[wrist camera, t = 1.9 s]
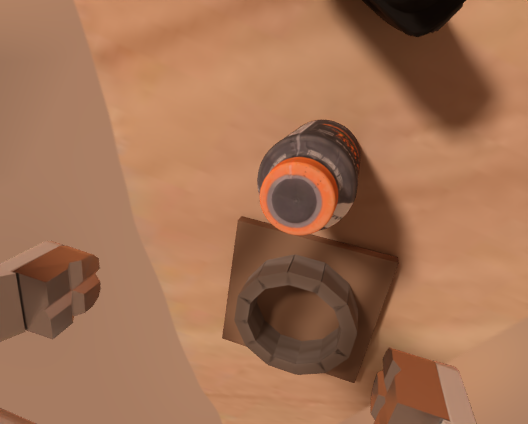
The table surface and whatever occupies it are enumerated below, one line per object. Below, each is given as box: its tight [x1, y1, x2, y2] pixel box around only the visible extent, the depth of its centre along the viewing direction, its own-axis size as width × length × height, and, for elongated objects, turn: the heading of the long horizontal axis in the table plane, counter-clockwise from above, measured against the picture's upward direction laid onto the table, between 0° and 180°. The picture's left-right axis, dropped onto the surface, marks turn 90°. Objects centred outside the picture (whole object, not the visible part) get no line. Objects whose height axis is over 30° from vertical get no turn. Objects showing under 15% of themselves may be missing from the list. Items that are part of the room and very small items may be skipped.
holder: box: [222, 216, 398, 383], centre depth 31 cm, size 14×14×4 cm
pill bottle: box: [257, 120, 360, 235], centre depth 22 cm, size 6×6×11 cm
